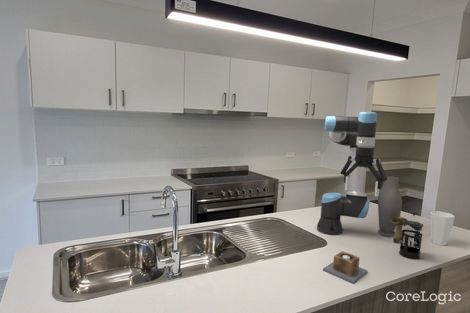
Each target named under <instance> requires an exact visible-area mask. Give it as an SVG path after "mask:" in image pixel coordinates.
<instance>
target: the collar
mask: <svg viewBox="0 0 470 313" xmlns="http://www.w3.org/2000/svg"><path fill="white" fill-rule="evenodd" d="M343 255H347V256H349V257H350V261H349V260H347V259H344V258H343ZM360 259H361V258H360V256H357V255H354V254H351V253H349V252H346V251H343V250H342V251H340V252H338V253H337V254H335V255H333V262H334V263H333V269H335V270H337V271H339V272H342V273H344V274H346V275H349V276H351V275H352V274H354V273H355V272H356V271H358V269H359V267H360Z"/></svg>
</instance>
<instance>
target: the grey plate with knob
mask: <svg viewBox="0 0 470 313" xmlns="http://www.w3.org/2000/svg"><path fill="white" fill-rule="evenodd" d="M343 258H344V259H347V260H349V261H350V257H349V256H347V255H343ZM333 263H334V261H333V262H331V263H329V264H328V265H326V266H325V267H323V268H322V271H323V272H326V273H328V274H330V275H333V276H335V277H337V278H339V279H342V280H344V281H346V282H348V283H351V284H353V285H354V284H355V283H356V282H357V281H359V280H360V279H361V278H362V277H363V276H365V275H367V274H368V269H365V268H362V267H360V266H359V269H358V271H356V272H355V273H354V274H352V275H351V276H349V275H346V274H344V273H342V272H339V271H337V270H335V269H333Z"/></svg>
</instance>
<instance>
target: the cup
mask: <svg viewBox="0 0 470 313" xmlns="http://www.w3.org/2000/svg"><path fill="white" fill-rule="evenodd" d="M429 214H430V241H431V243H433V244H434V245H437V246H441V247H442V246H443V247H444V246H447V245H448V242H449V239H450V235H451V232H452V229H453V224H454V222H455V217H456V216H455V215H453V214H452V213H450V212H446V211H445V212H444V211H439V210H436V211H430V213H429Z"/></svg>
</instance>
